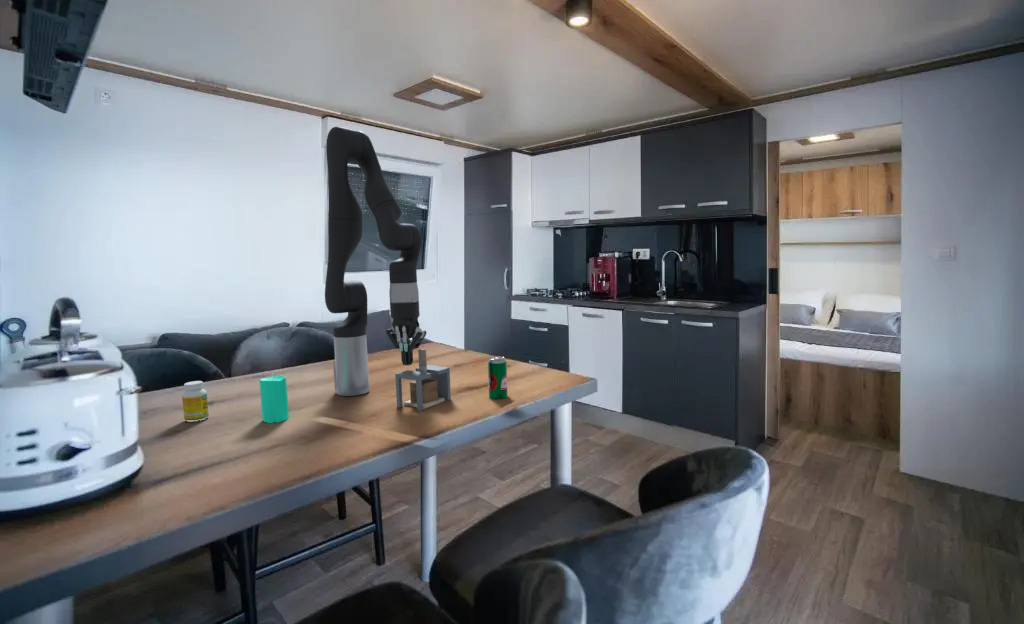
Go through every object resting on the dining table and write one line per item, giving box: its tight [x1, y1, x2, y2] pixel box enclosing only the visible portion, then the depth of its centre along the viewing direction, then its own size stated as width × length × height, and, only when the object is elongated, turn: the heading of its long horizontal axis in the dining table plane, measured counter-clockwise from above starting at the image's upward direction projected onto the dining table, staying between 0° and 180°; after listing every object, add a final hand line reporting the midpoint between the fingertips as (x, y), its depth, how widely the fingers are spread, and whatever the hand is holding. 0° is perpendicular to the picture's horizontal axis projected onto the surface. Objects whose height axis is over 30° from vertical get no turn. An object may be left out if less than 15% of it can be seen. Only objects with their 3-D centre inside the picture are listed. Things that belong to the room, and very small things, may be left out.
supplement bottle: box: [181, 380, 210, 420], centre depth 129 cm, size 5×5×10 cm
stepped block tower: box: [403, 348, 446, 410], centre depth 134 cm, size 7×8×14 cm
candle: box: [259, 372, 290, 424], centre depth 127 cm, size 6×6×12 cm
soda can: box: [487, 356, 509, 400], centre depth 138 cm, size 5×5×12 cm
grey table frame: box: [394, 364, 452, 412], centre depth 135 cm, size 27×14×10 cm, turn 58°
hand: (407, 364), depth 136 cm, fingers closed
